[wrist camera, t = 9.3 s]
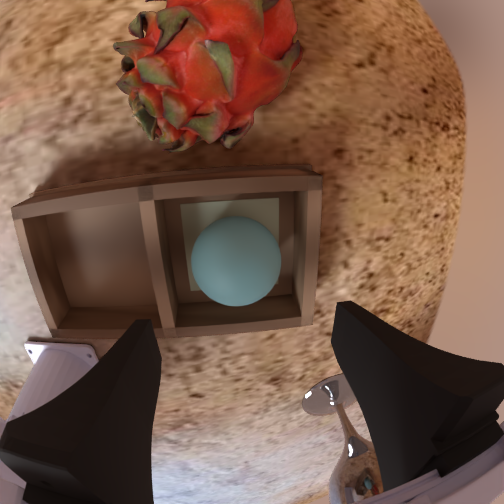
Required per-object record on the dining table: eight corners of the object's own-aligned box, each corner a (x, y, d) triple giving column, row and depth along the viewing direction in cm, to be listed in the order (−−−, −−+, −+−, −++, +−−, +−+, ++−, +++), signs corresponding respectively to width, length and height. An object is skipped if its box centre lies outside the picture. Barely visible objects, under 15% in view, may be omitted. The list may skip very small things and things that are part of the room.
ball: (270, 275, 20) (291, 316, 16) (196, 283, 20) (198, 329, 15) (268, 202, 18) (292, 228, 14) (187, 210, 18) (183, 239, 13)
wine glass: (299, 424, 29) (333, 538, 16) (296, 382, 26) (341, 525, 12) (364, 405, 30) (412, 507, 16) (372, 361, 26) (441, 482, 13)
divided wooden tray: (303, 299, 22) (316, 326, 19) (66, 313, 20) (50, 339, 17) (308, 164, 18) (327, 172, 15) (33, 192, 16) (7, 205, 13)
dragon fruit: (165, 156, 18) (228, 11, 16) (281, 193, 15) (344, 18, 13) (55, 125, 11) (158, -57, 8) (180, 152, 7) (303, -87, 5)
